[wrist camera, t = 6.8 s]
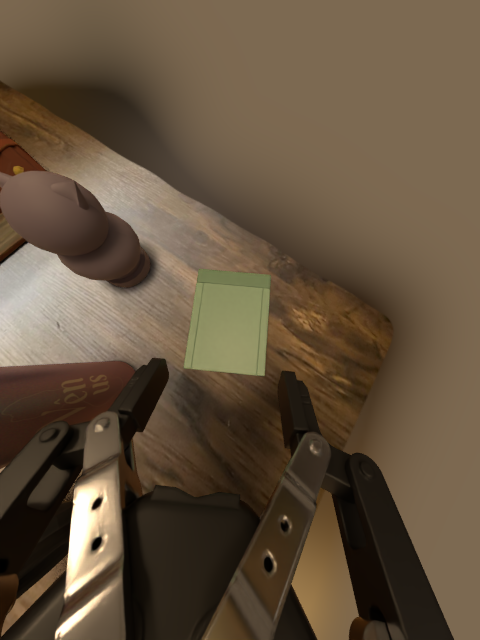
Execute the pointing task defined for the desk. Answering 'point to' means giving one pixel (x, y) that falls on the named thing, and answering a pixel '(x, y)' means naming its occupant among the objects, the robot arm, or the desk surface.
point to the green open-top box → (229, 323)
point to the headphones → (48, 548)
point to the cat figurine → (73, 227)
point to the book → (10, 161)
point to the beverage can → (54, 398)
